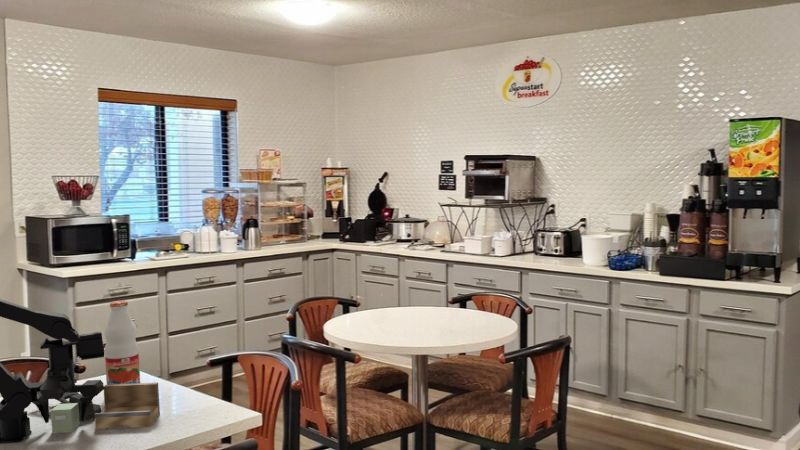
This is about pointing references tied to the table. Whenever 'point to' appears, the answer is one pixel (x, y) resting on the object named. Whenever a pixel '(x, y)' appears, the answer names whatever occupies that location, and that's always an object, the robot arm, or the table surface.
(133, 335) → the fruit juice
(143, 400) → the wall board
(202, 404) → the table surface
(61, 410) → the cabinet block
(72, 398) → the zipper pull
